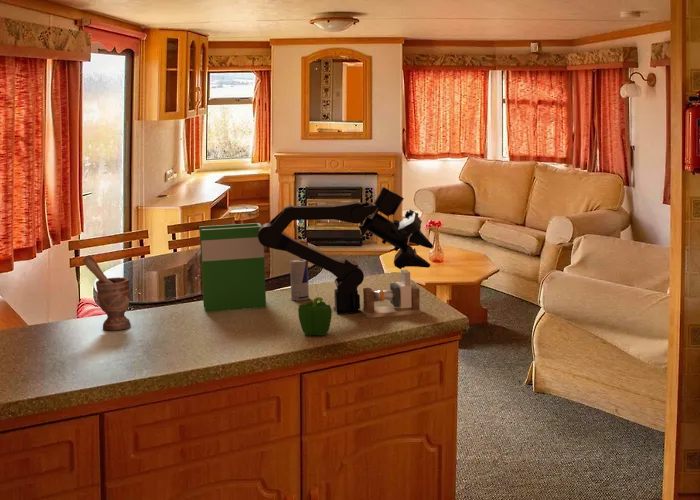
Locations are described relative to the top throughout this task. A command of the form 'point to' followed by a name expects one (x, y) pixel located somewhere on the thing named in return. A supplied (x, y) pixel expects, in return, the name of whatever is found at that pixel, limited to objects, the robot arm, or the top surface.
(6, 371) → the top surface
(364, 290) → the pipe stand
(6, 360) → the top surface
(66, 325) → the top surface
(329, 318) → the bell pepper
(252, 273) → the hardback book
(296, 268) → the energy drink
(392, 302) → the dark flat slab
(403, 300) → the beige boxy piece
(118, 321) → the mortar and pestle
